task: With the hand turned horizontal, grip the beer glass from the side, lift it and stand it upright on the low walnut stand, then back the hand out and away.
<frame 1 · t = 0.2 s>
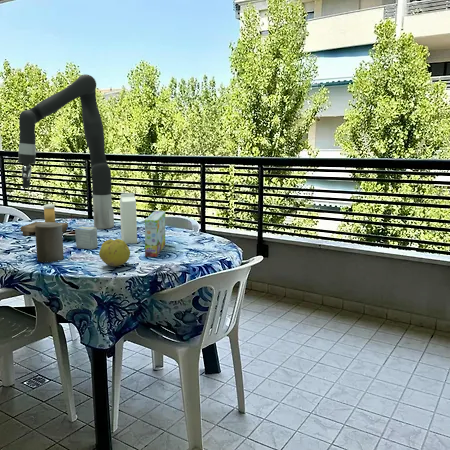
hand: (26, 187, 218), 22 cm above the table, tool pointing down, fingers open, 8 cm apart
medicine box: (87, 248, 193), on the table
milk: (129, 242, 204), on the table
walnut stand: (45, 233, 220), on the table
snack box: (156, 250, 190), on the table
fruit: (115, 266, 167), on the table
pillar candle: (50, 259, 175), on the table
beer glass: (50, 227, 234), on the table
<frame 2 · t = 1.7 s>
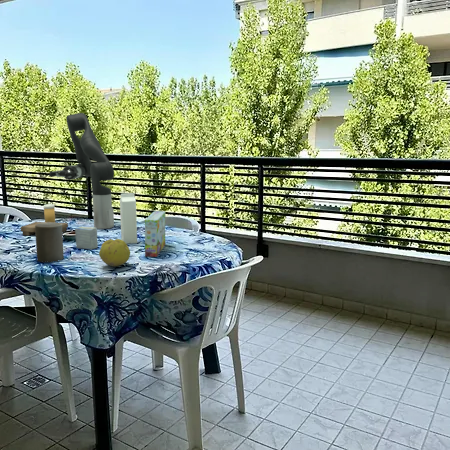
hand: (57, 175, 239), 26 cm above the table, tool horizontal, fingers open, 8 cm apart
nothing on the table moved.
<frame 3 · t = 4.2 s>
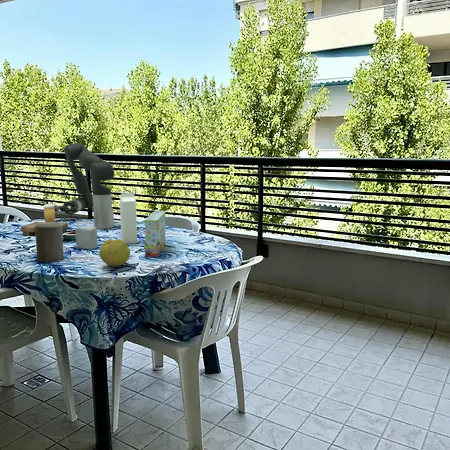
hand: (58, 211, 241), 7 cm above the table, tool horizontal, fingers open, 8 cm apart
nothing on the table moved.
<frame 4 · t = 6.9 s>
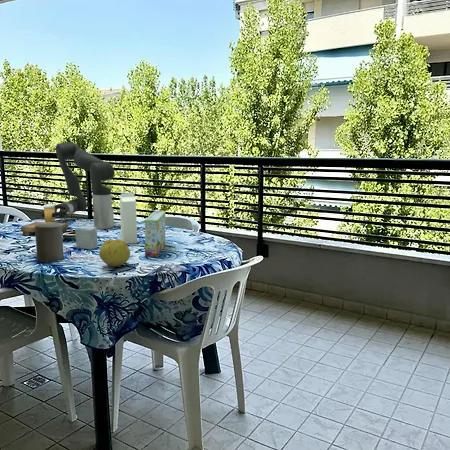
hand: (47, 215, 231), 7 cm above the table, tool horizontal, fingers closed on beer glass, 5 cm apart
beer glass: (50, 226, 234), on the table, touching gripper
everything else where it was.
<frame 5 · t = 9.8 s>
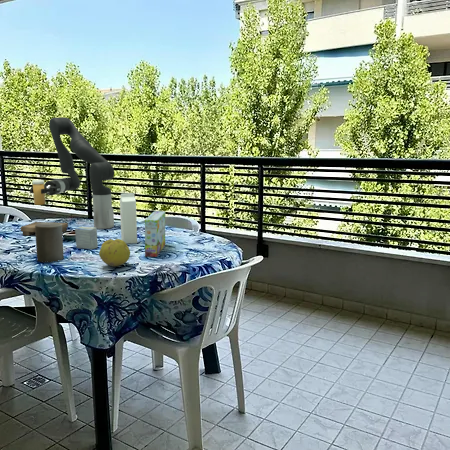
hand: (36, 191, 219), 20 cm above the table, tool horizontal, fingers closed on beer glass, 5 cm apart
beer glass: (39, 203, 222), point 13 cm above the table, touching gripper
everything else where it was.
when the fingers open (12 cm above the table, at t = 12.9 s): beer glass drops 1 cm, resting on walnut stand.
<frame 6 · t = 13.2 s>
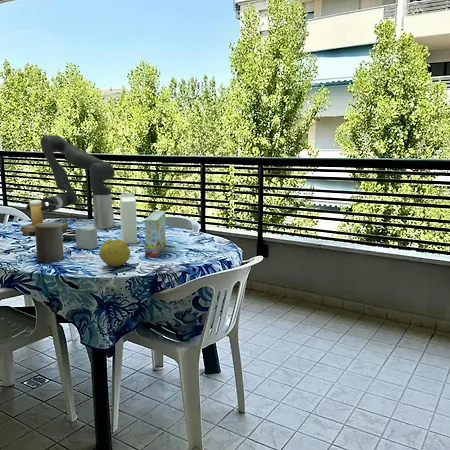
hand: (34, 208, 217), 12 cm above the table, tool horizontal, fingers open, 7 cm apart
beer glass: (37, 224, 220), point 4 cm above the table, touching walnut stand
everything else where it was.
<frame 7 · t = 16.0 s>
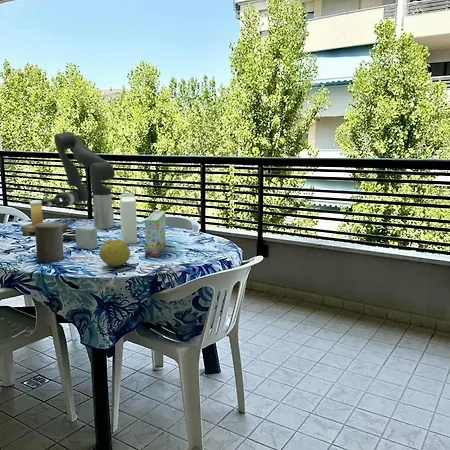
hand: (48, 204, 229), 12 cm above the table, tool horizontal, fingers open, 8 cm apart
nothing on the table moved.
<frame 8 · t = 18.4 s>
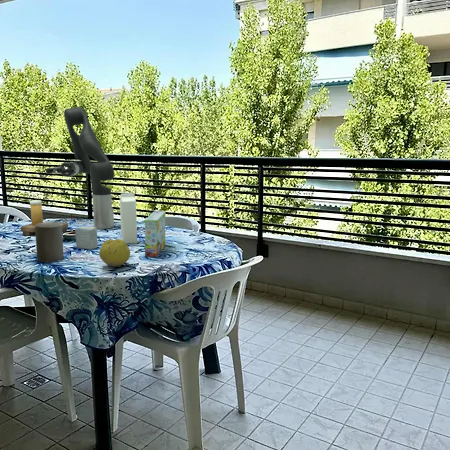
hand: (54, 171, 234), 28 cm above the table, tool horizontal, fingers open, 8 cm apart
nothing on the table moved.
at the end: beer glass inside the target area on the walnut stand (4.0 cm from its centre), point 4.1 cm above the walnut stand's base; beer glass tilted 2°; the gripper is holding nothing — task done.
